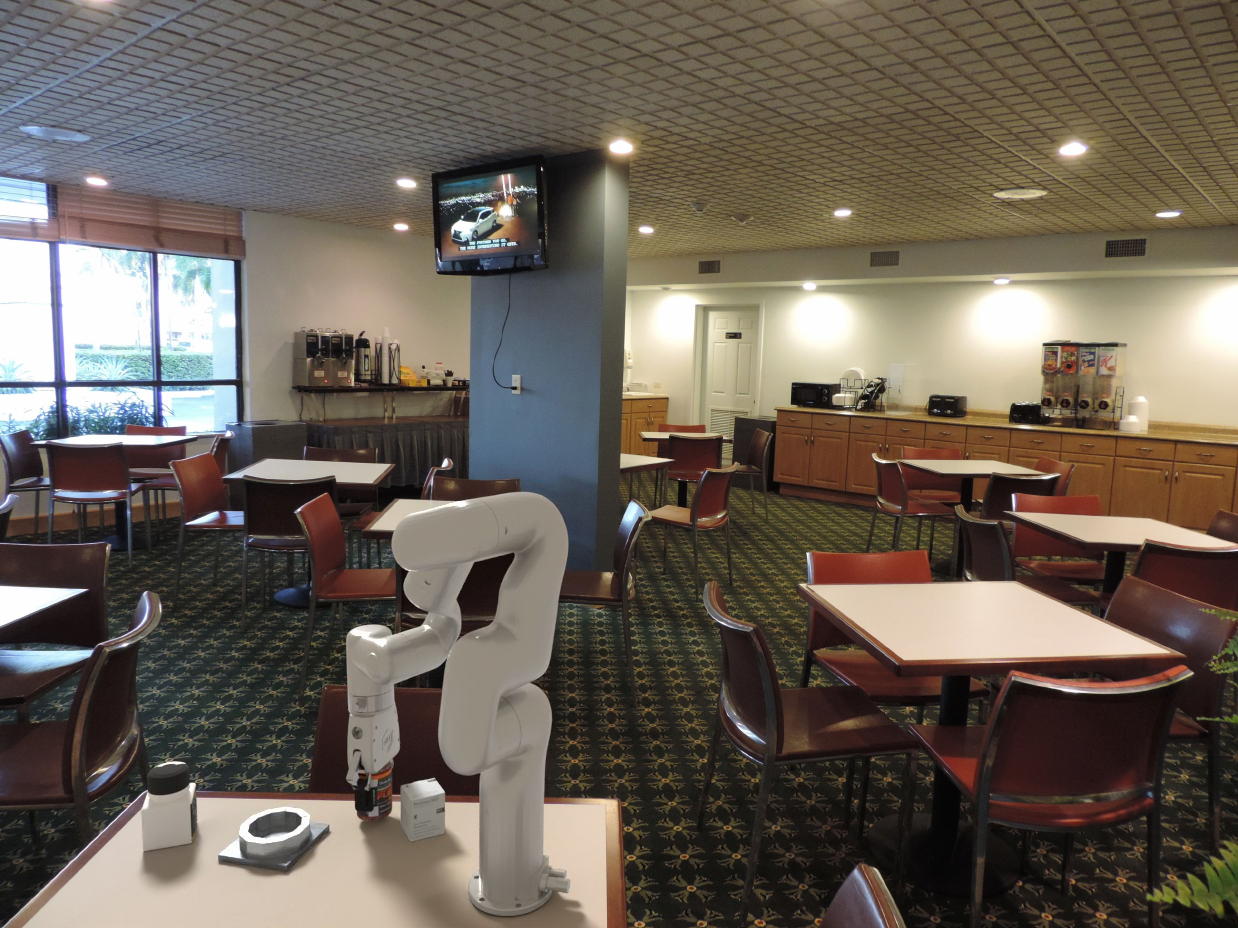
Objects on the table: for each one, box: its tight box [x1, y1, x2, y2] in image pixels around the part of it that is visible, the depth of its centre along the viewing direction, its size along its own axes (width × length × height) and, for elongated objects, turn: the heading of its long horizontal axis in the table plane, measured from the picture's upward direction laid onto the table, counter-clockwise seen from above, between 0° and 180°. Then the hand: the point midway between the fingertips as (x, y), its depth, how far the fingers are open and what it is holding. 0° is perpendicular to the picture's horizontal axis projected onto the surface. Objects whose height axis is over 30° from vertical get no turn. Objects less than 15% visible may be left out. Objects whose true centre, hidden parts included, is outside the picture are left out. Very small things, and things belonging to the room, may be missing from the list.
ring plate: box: [217, 806, 331, 873], centre depth 133 cm, size 12×12×4 cm
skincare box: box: [399, 777, 446, 843], centre depth 138 cm, size 6×6×7 cm
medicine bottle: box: [140, 761, 198, 852], centre depth 134 cm, size 7×7×12 cm
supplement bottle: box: [356, 761, 393, 822], centre depth 140 cm, size 6×6×11 cm
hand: (374, 799), depth 141 cm, fingers closed on supplement bottle, 5 cm apart
